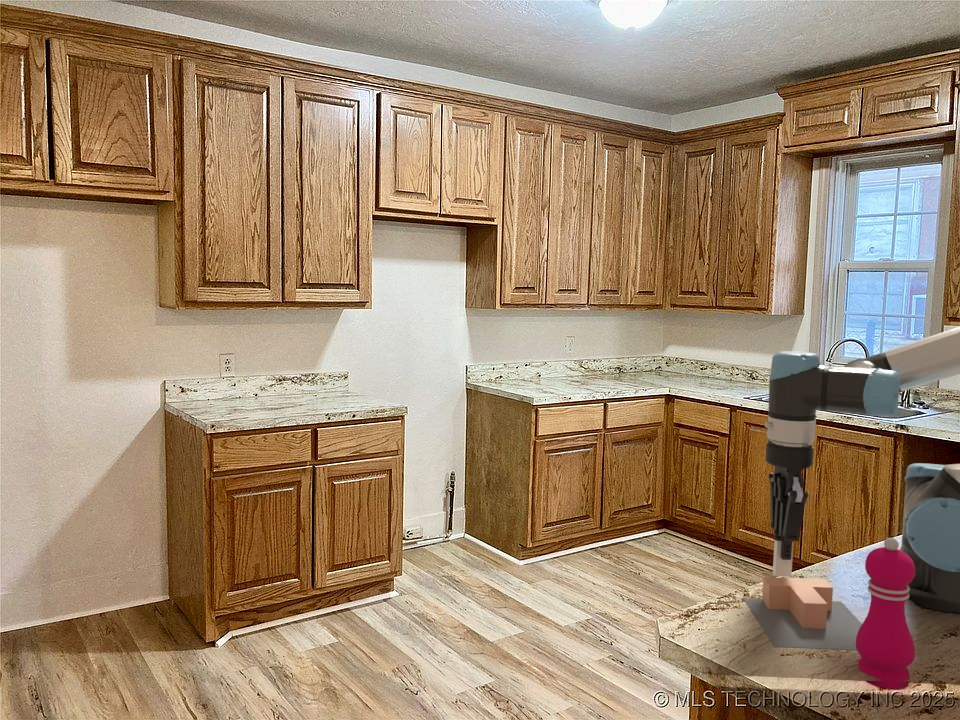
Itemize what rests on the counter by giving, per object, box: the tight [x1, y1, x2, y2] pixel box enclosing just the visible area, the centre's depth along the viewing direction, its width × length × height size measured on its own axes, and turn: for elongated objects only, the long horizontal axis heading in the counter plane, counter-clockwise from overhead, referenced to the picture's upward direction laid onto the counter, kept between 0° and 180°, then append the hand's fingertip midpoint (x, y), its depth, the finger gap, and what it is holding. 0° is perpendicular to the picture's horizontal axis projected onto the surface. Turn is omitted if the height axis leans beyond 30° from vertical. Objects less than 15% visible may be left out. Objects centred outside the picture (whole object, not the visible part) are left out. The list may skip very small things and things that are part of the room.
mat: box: [743, 597, 863, 651], centre depth 118 cm, size 16×17×1 cm
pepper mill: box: [856, 537, 916, 690], centre depth 103 cm, size 7×7×20 cm
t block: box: [761, 576, 834, 629], centre depth 121 cm, size 10×10×4 cm
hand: (781, 574), depth 131 cm, fingers closed
